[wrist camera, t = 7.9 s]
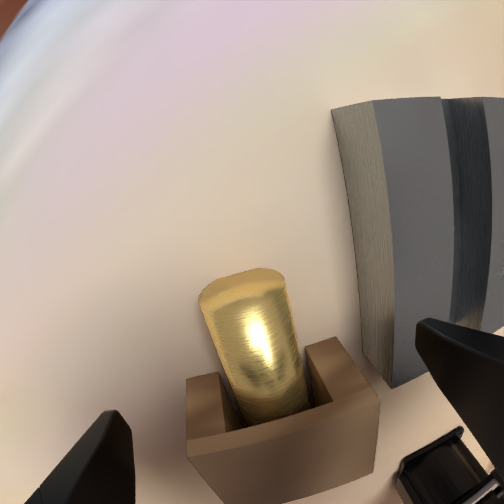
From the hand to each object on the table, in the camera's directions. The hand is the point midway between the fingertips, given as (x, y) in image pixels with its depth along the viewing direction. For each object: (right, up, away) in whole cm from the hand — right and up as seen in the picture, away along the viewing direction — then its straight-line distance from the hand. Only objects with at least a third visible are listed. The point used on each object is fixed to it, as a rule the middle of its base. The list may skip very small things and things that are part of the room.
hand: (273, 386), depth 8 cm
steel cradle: (+7, +5, +5) cm, 10 cm away
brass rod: (0, -2, +6) cm, 7 cm away
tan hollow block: (+1, -4, +7) cm, 8 cm away
